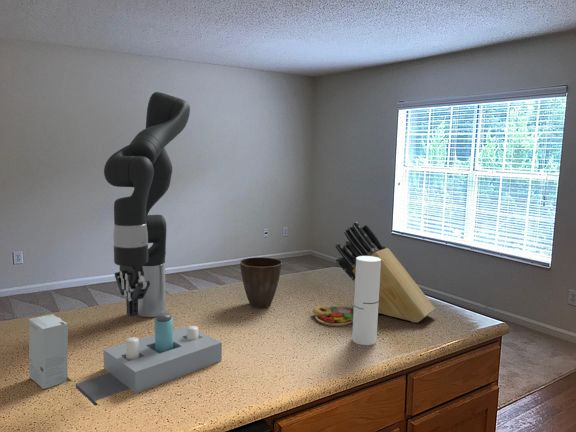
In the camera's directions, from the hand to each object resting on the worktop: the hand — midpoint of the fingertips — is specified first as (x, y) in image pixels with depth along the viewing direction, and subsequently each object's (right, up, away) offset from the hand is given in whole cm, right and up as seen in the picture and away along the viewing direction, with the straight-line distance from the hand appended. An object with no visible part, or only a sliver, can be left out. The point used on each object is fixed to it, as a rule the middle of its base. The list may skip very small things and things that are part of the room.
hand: (132, 314), depth 111 cm
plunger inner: (+11, -13, +14) cm, 22 cm away
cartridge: (+5, -14, +8) cm, 17 cm away
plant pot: (+27, -9, +58) cm, 65 cm away
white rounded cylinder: (-1, -13, +2) cm, 13 cm away
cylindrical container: (+59, -14, +29) cm, 68 cm away
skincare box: (-20, -16, +1) cm, 26 cm away
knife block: (+70, -10, +57) cm, 91 cm away
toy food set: (+52, -12, +46) cm, 71 cm away
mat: (-5, -17, -2) cm, 17 cm away
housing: (+5, -15, +8) cm, 18 cm away
